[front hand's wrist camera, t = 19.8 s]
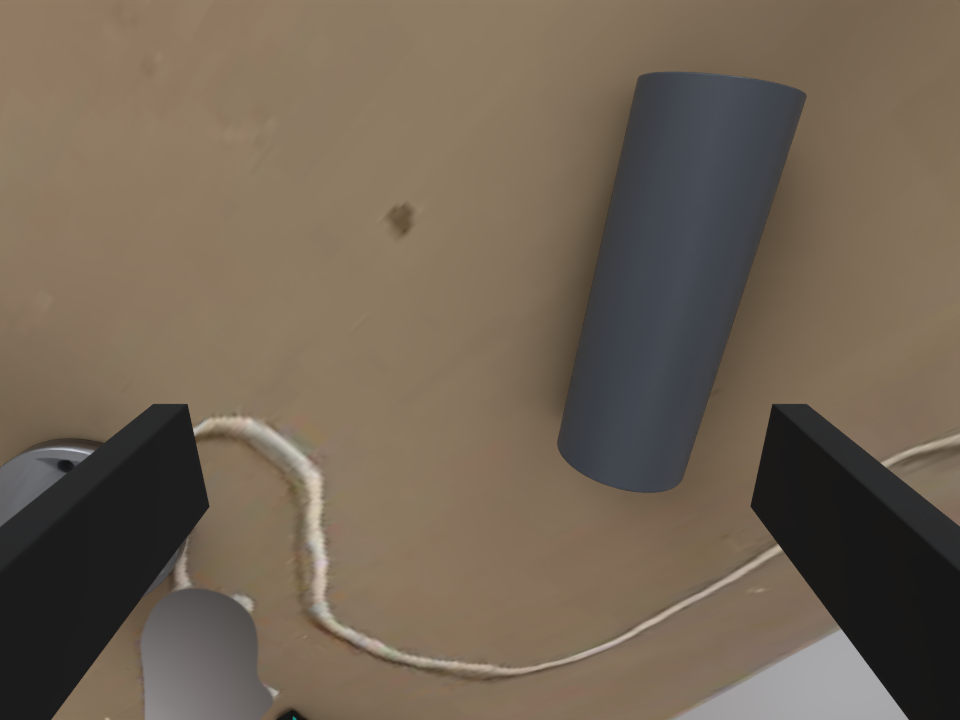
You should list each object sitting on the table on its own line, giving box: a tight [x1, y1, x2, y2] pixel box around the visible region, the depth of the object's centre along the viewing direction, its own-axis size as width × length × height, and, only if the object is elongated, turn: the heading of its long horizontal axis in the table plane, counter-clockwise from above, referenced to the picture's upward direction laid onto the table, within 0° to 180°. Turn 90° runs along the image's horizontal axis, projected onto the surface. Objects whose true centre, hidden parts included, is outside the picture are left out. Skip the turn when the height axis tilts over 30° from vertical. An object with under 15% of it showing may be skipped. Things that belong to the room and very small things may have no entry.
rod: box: [557, 72, 806, 493], centre depth 35 cm, size 24×9×9 cm, turn 172°
